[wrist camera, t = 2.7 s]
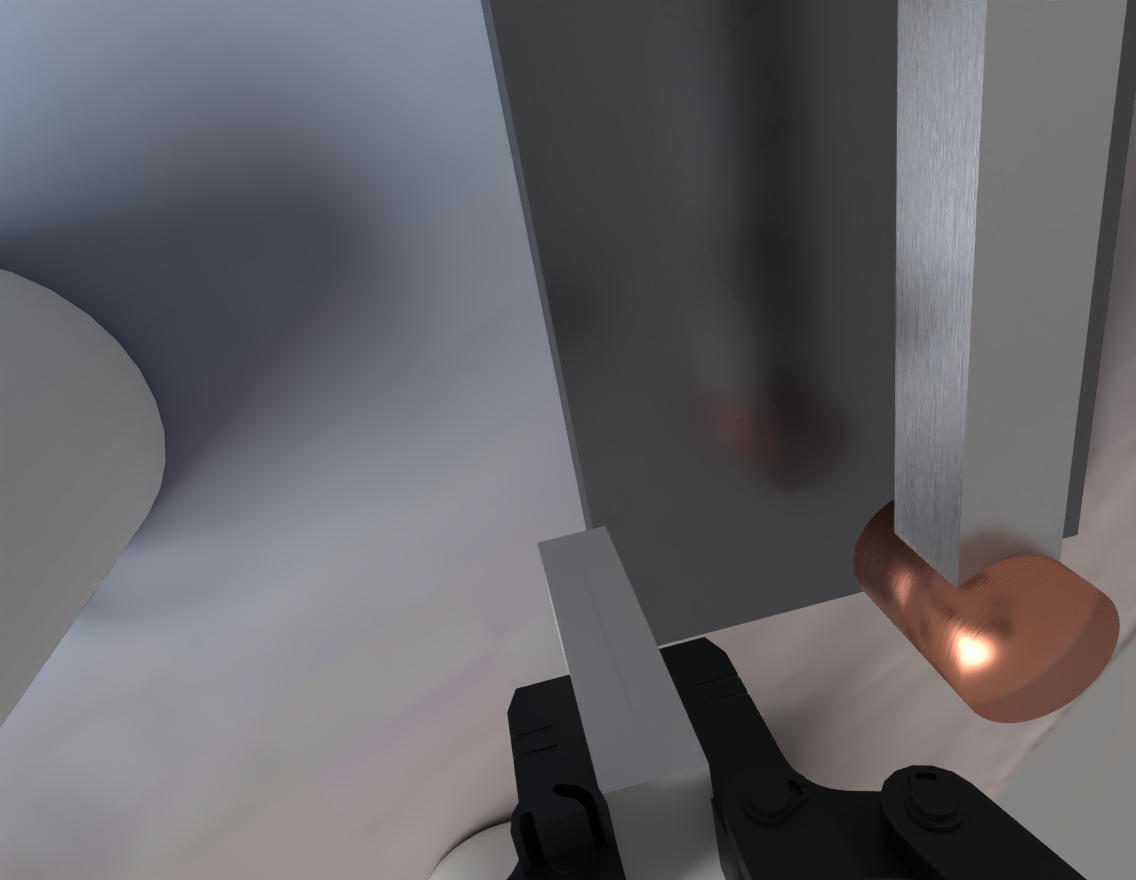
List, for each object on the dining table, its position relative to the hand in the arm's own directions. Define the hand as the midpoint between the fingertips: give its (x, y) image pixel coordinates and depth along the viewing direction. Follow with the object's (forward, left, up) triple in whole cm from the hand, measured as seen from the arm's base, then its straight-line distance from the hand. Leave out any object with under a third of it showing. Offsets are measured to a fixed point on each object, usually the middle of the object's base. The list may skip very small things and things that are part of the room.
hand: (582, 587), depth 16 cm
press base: (-9, +9, -7) cm, 14 cm away
